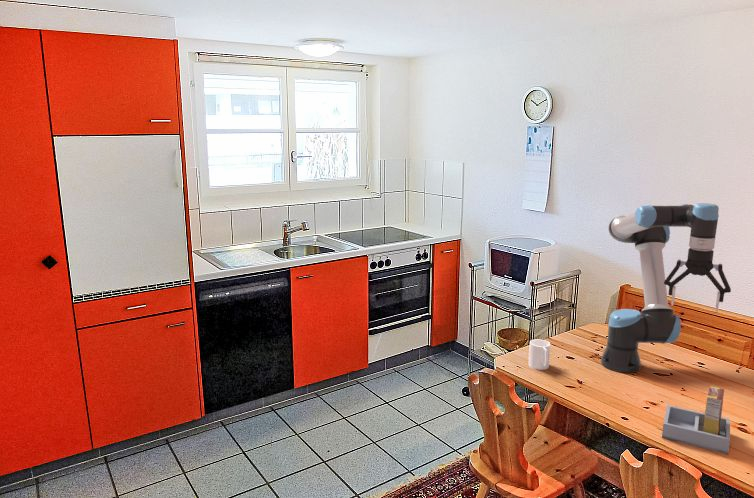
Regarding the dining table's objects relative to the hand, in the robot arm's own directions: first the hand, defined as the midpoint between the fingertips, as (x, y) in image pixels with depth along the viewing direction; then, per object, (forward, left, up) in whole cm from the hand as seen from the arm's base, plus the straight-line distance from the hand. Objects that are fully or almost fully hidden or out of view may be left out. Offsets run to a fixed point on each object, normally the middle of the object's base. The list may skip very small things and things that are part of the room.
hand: (694, 307), depth 194 cm
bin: (+5, -27, -35) cm, 44 cm away
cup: (-52, -1, -35) cm, 63 cm away
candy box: (+9, -27, -34) cm, 44 cm away
